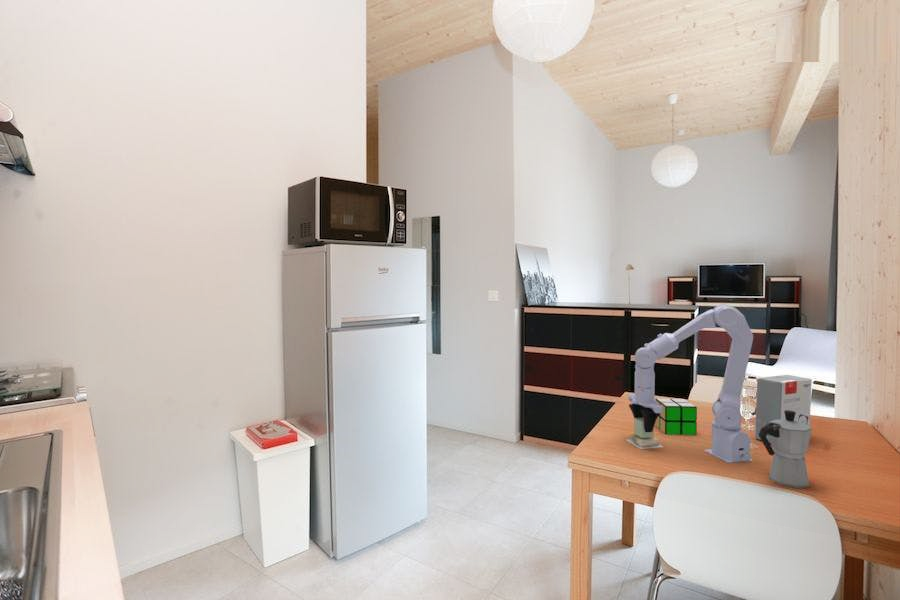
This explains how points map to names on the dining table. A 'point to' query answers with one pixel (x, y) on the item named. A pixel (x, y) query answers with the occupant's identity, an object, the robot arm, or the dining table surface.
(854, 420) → the dining table surface
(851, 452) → the dining table surface
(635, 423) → the green block
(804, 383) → the hard drive box
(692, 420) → the puzzle cube
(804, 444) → the coffee maker
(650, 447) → the building mat
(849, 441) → the dining table surface
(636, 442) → the base block
